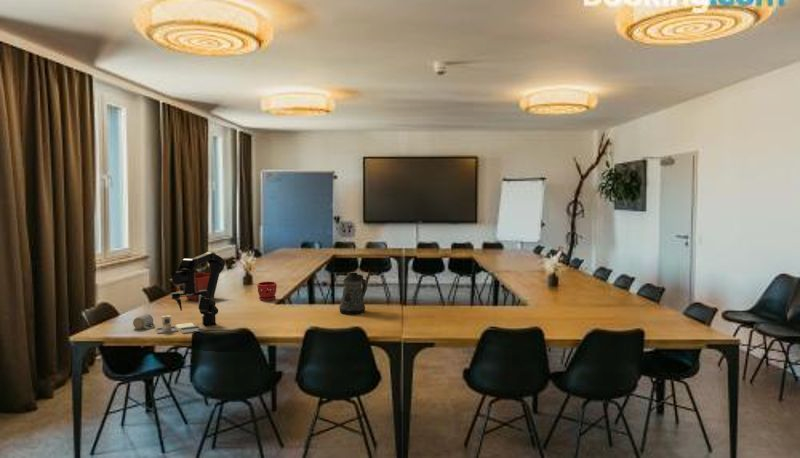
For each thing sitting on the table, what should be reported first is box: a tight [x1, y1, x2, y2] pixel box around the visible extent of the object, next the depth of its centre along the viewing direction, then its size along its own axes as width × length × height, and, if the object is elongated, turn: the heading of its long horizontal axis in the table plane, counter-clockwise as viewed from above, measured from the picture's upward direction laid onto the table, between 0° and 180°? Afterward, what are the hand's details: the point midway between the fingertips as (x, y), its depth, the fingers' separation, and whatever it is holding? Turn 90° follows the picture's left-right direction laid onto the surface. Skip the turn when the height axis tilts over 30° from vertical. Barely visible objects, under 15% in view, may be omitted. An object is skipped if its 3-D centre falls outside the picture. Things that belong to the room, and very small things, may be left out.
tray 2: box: [179, 325, 202, 335], centre depth 297 cm, size 10×10×1 cm
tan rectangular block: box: [161, 314, 172, 332], centre depth 296 cm, size 4×4×8 cm
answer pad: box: [175, 322, 195, 329], centre depth 307 cm, size 9×9×1 cm
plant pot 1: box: [181, 272, 210, 302], centre depth 384 cm, size 19×19×17 cm
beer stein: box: [338, 272, 368, 316], centre depth 345 cm, size 16×19×25 cm
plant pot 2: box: [256, 281, 277, 302], centre depth 381 cm, size 13×13×12 cm
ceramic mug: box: [132, 312, 156, 330], centre depth 302 cm, size 11×8×8 cm
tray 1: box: [154, 325, 179, 335], centre depth 296 cm, size 10×10×1 cm
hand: (190, 309), depth 296 cm, fingers open, 9 cm apart
